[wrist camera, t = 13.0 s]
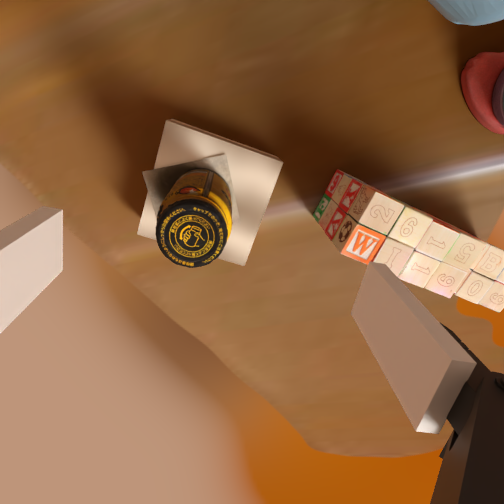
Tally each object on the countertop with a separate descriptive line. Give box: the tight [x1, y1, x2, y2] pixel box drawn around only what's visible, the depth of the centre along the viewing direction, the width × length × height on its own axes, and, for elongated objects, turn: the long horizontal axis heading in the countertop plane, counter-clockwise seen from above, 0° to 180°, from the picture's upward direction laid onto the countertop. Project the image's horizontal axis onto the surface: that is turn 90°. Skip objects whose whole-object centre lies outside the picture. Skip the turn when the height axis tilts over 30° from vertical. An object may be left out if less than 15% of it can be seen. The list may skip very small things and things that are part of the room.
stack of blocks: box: [313, 169, 504, 312], centre depth 39 cm, size 21×6×12 cm, turn 65°
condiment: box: [142, 155, 241, 268], centre depth 32 cm, size 7×8×12 cm
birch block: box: [137, 119, 283, 266], centre depth 40 cm, size 12×12×5 cm
